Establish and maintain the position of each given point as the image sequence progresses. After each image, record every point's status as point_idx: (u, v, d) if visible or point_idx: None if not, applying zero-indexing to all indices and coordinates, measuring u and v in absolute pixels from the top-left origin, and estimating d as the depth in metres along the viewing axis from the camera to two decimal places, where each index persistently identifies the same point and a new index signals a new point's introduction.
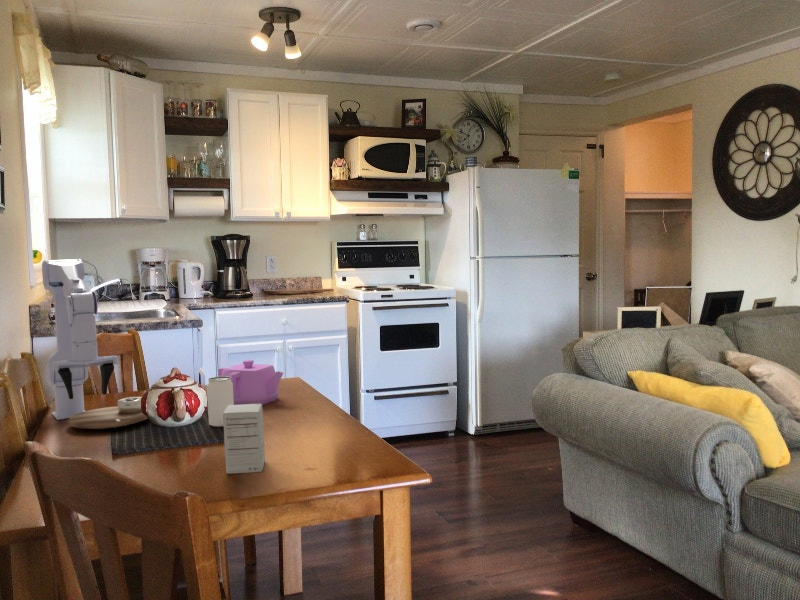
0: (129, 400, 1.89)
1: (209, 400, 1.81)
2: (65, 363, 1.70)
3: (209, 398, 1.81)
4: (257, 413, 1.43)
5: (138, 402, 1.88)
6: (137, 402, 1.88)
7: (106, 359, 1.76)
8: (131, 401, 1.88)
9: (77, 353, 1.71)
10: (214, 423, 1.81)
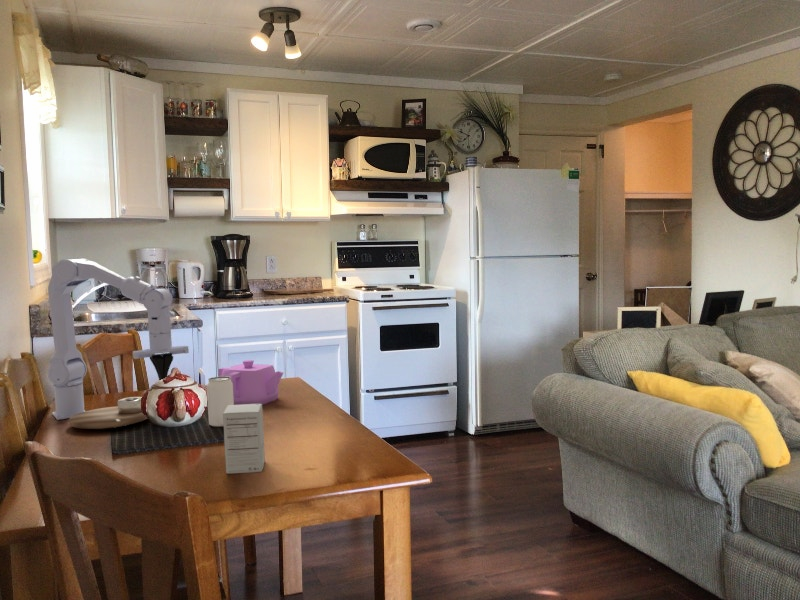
0: (129, 400, 1.89)
1: (209, 400, 1.81)
2: (144, 352, 1.90)
3: (209, 398, 1.81)
4: (257, 413, 1.43)
5: (138, 402, 1.88)
6: (137, 402, 1.88)
7: (179, 349, 1.96)
8: (131, 401, 1.88)
9: (155, 343, 1.91)
10: (214, 423, 1.81)
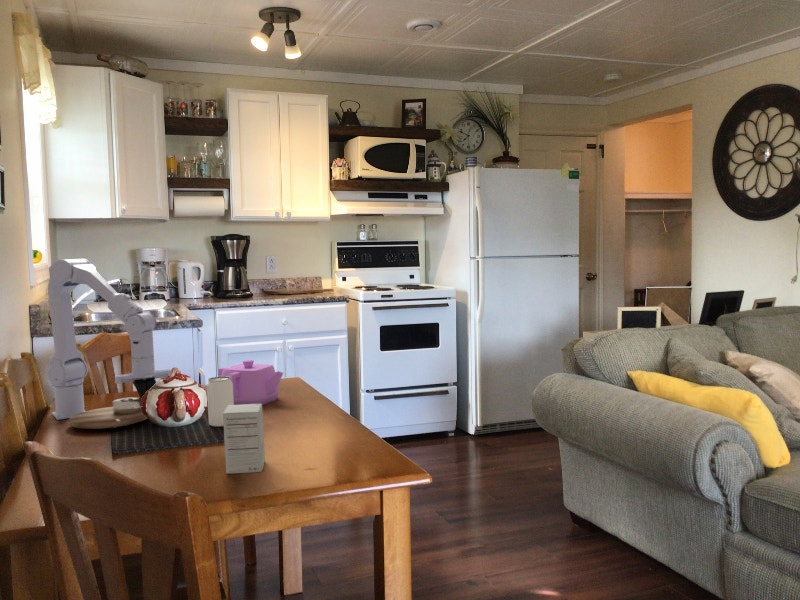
0: (124, 401, 1.88)
1: (209, 400, 1.81)
2: (126, 377, 1.88)
3: (209, 398, 1.81)
4: (257, 413, 1.43)
5: (133, 403, 1.88)
6: (132, 403, 1.87)
7: (162, 373, 1.93)
8: (126, 402, 1.87)
9: (137, 368, 1.89)
10: (214, 423, 1.81)
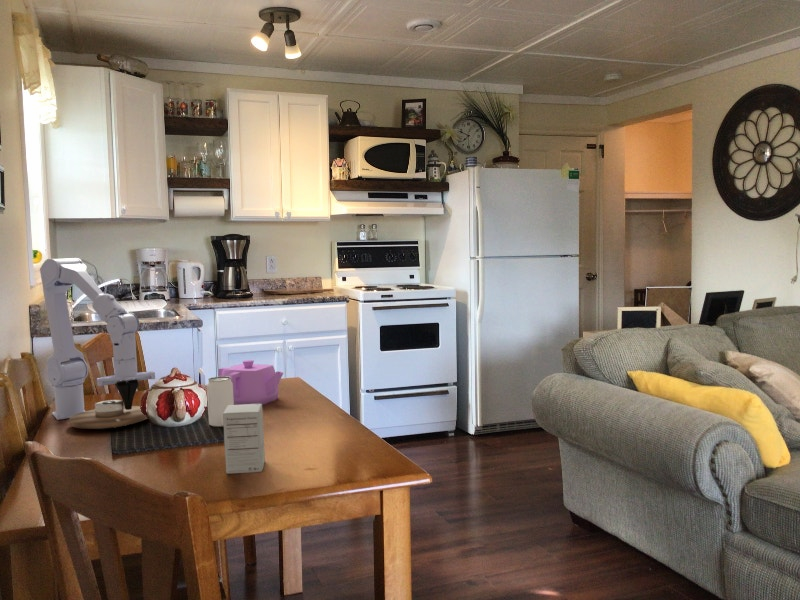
0: (106, 403, 1.86)
1: (209, 400, 1.81)
2: (108, 379, 1.86)
3: (209, 398, 1.81)
4: (257, 413, 1.43)
5: (116, 405, 1.85)
6: (115, 405, 1.85)
7: (145, 375, 1.91)
8: (108, 404, 1.85)
9: (119, 370, 1.87)
10: (214, 423, 1.81)
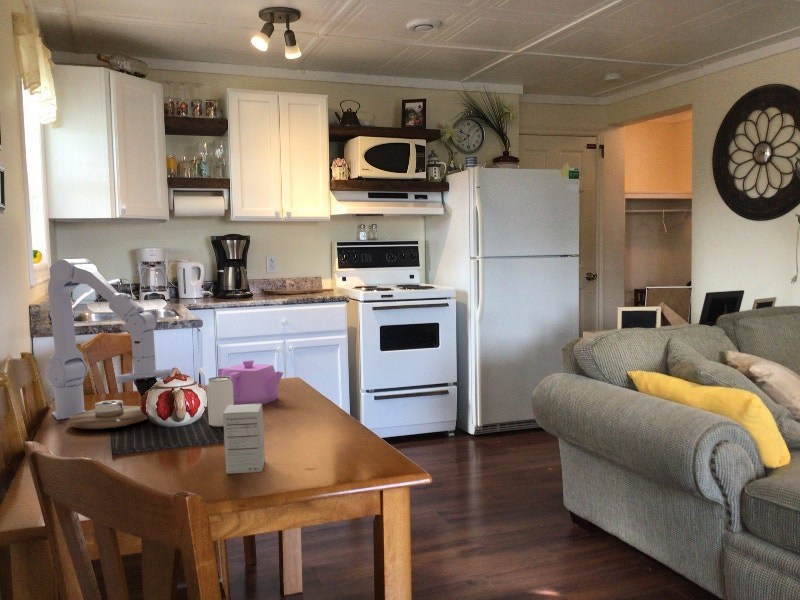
0: (106, 403, 1.86)
1: (209, 400, 1.81)
2: (128, 376, 1.88)
3: (209, 398, 1.81)
4: (257, 413, 1.43)
5: (116, 405, 1.85)
6: (115, 405, 1.85)
7: (163, 372, 1.93)
8: (108, 404, 1.85)
9: (138, 367, 1.89)
10: (214, 423, 1.81)
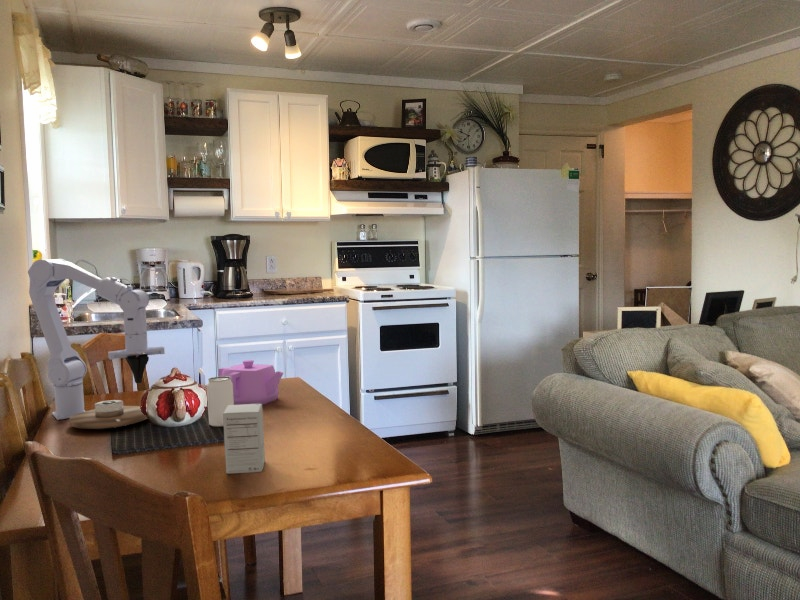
0: (106, 403, 1.86)
1: (209, 400, 1.81)
2: (119, 352, 1.92)
3: (209, 398, 1.81)
4: (257, 413, 1.43)
5: (116, 405, 1.85)
6: (115, 405, 1.85)
7: (155, 349, 1.97)
8: (108, 404, 1.85)
9: (130, 344, 1.93)
10: (214, 423, 1.81)
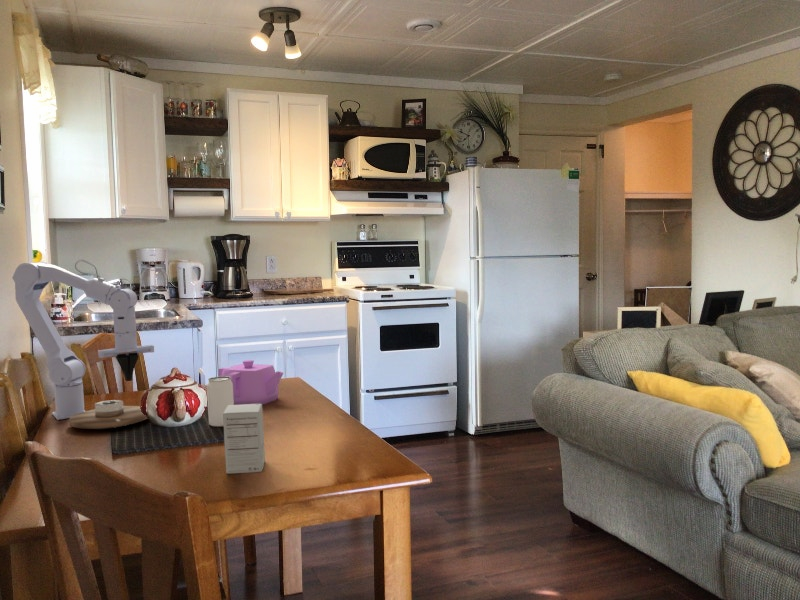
0: (106, 403, 1.86)
1: (209, 400, 1.81)
2: (109, 351, 1.94)
3: (209, 398, 1.81)
4: (257, 413, 1.43)
5: (116, 405, 1.85)
6: (115, 405, 1.85)
7: (144, 348, 1.99)
8: (108, 404, 1.85)
9: (120, 343, 1.95)
10: (214, 423, 1.81)
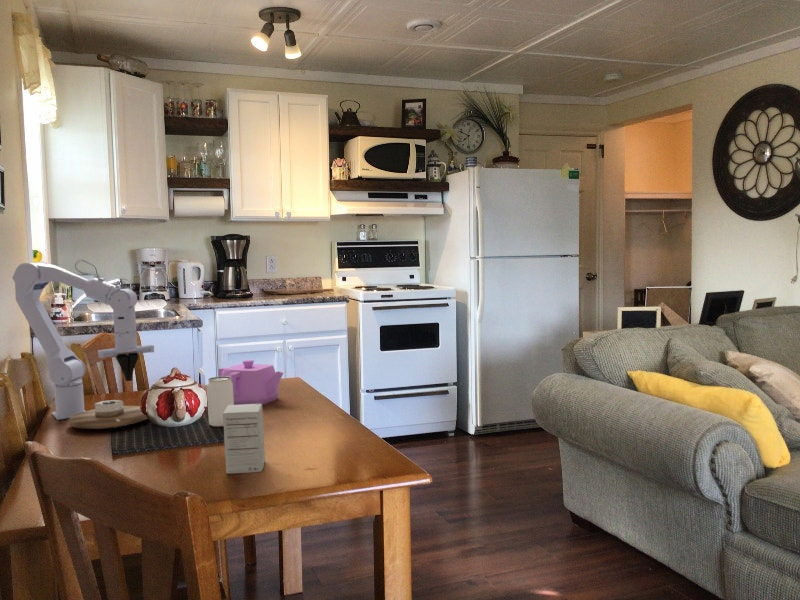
0: (106, 403, 1.86)
1: (209, 400, 1.81)
2: (109, 351, 1.94)
3: (209, 398, 1.81)
4: (257, 413, 1.43)
5: (116, 405, 1.85)
6: (115, 405, 1.85)
7: (144, 348, 1.99)
8: (108, 404, 1.85)
9: (120, 343, 1.95)
10: (214, 423, 1.81)
